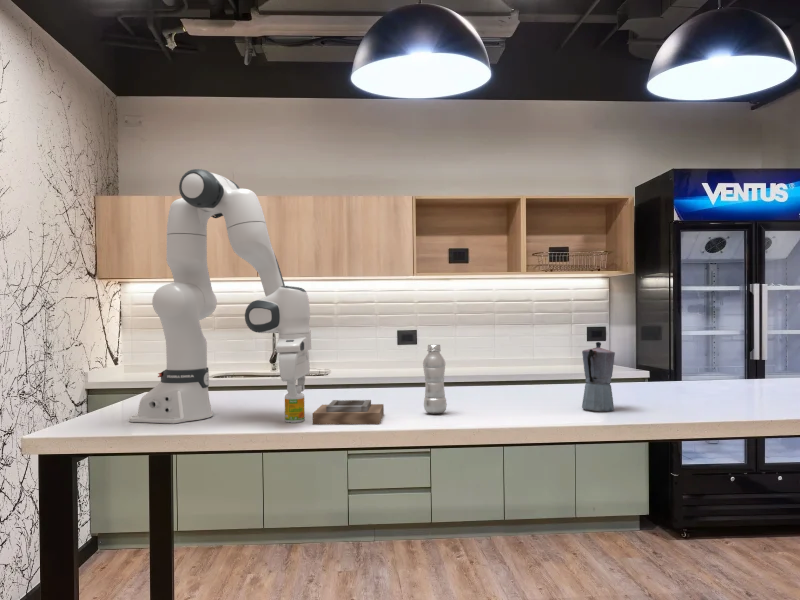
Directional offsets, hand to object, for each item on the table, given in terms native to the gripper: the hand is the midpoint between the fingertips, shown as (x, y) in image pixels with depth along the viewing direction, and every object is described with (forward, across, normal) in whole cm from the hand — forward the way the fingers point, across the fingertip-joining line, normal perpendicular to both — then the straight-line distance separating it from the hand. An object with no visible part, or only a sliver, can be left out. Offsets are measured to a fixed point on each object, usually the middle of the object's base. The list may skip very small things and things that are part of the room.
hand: (297, 393), depth 157 cm
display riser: (+8, -2, +14) cm, 16 cm away
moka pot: (+10, -14, +86) cm, 88 cm away
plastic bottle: (+9, -10, +38) cm, 40 cm away
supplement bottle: (+8, 0, -1) cm, 8 cm away
